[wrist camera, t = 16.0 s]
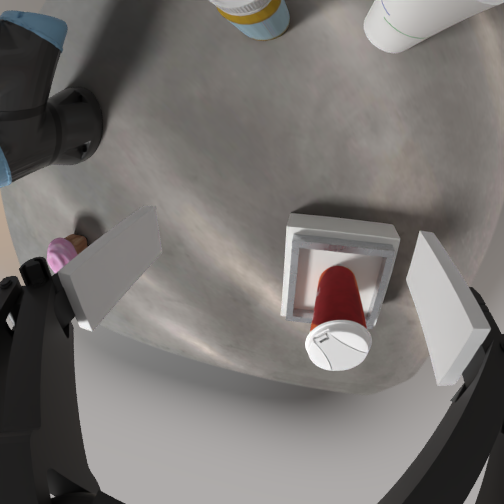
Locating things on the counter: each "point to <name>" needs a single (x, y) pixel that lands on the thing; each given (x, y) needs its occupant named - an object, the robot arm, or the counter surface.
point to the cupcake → (64, 250)
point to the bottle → (256, 17)
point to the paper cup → (338, 322)
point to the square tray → (336, 261)
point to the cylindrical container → (416, 20)
